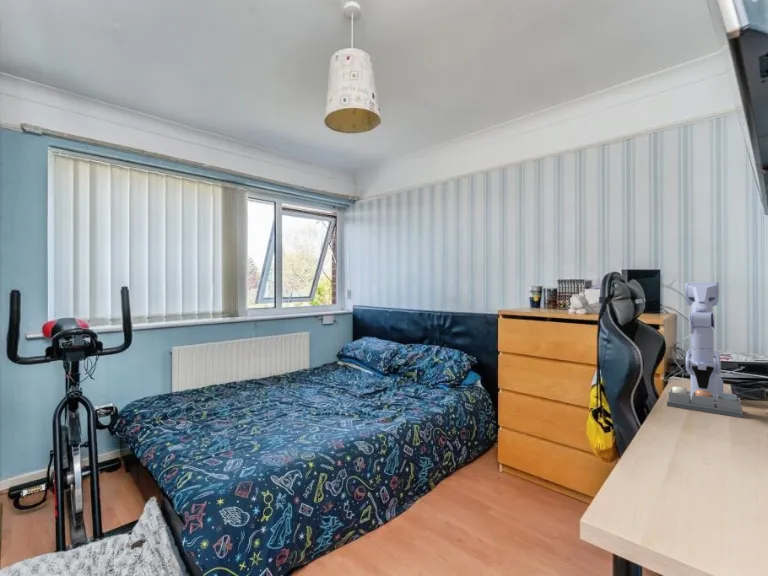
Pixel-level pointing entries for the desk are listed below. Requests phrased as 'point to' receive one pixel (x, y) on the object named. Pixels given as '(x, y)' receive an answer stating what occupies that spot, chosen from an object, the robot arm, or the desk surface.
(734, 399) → the bluegrey button
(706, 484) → the desk surface
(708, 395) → the terracotta button
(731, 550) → the desk surface
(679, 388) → the cream button
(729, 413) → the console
